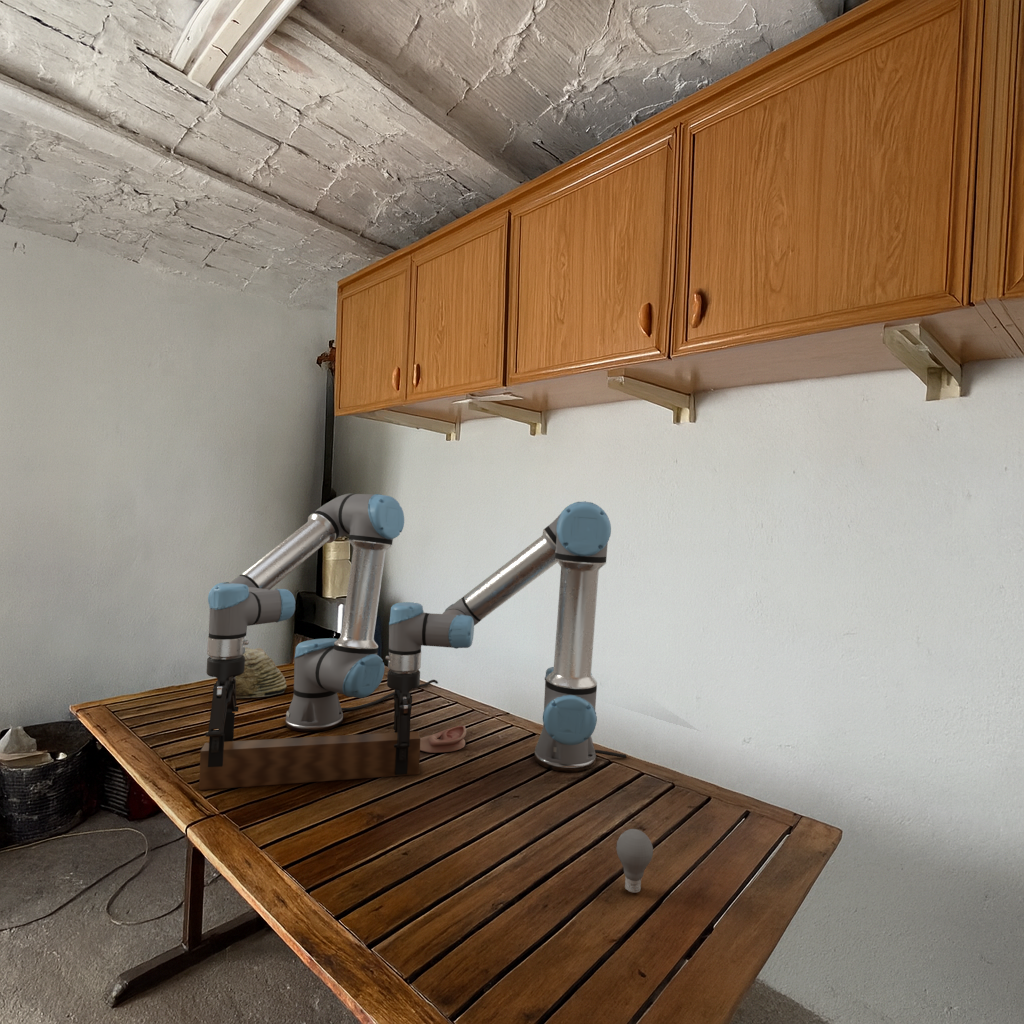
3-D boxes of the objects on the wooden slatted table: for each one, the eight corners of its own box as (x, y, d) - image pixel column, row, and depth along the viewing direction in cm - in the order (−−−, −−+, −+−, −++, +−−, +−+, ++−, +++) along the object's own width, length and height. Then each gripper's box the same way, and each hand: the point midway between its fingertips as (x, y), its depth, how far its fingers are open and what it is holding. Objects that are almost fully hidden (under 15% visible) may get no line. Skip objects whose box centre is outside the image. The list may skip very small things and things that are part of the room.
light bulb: (610, 879, 108) (613, 822, 108) (644, 879, 109) (647, 822, 109) (619, 902, 102) (622, 840, 102) (655, 901, 103) (658, 840, 103)
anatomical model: (407, 734, 160) (423, 719, 171) (406, 749, 160) (422, 733, 171) (458, 740, 157) (470, 724, 168) (457, 756, 157) (469, 739, 168)
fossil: (218, 695, 195) (220, 647, 195) (278, 685, 208) (279, 640, 207) (228, 703, 189) (230, 653, 188) (289, 692, 201) (290, 645, 201)
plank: (199, 790, 134) (200, 751, 134) (203, 780, 139) (204, 742, 139) (418, 774, 147) (420, 738, 146) (416, 765, 151) (417, 731, 151)
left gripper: (236, 670, 126) (230, 776, 126) (252, 643, 150) (247, 732, 150) (194, 670, 124) (189, 778, 124) (218, 643, 148) (213, 733, 148)
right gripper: (384, 660, 155) (381, 754, 155) (390, 681, 138) (386, 787, 138) (415, 659, 157) (411, 752, 157) (425, 680, 140) (420, 784, 140)
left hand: (221, 753), depth 137 cm, fingers open, 13 cm apart
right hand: (399, 768), depth 148 cm, fingers closed on plank, 5 cm apart
